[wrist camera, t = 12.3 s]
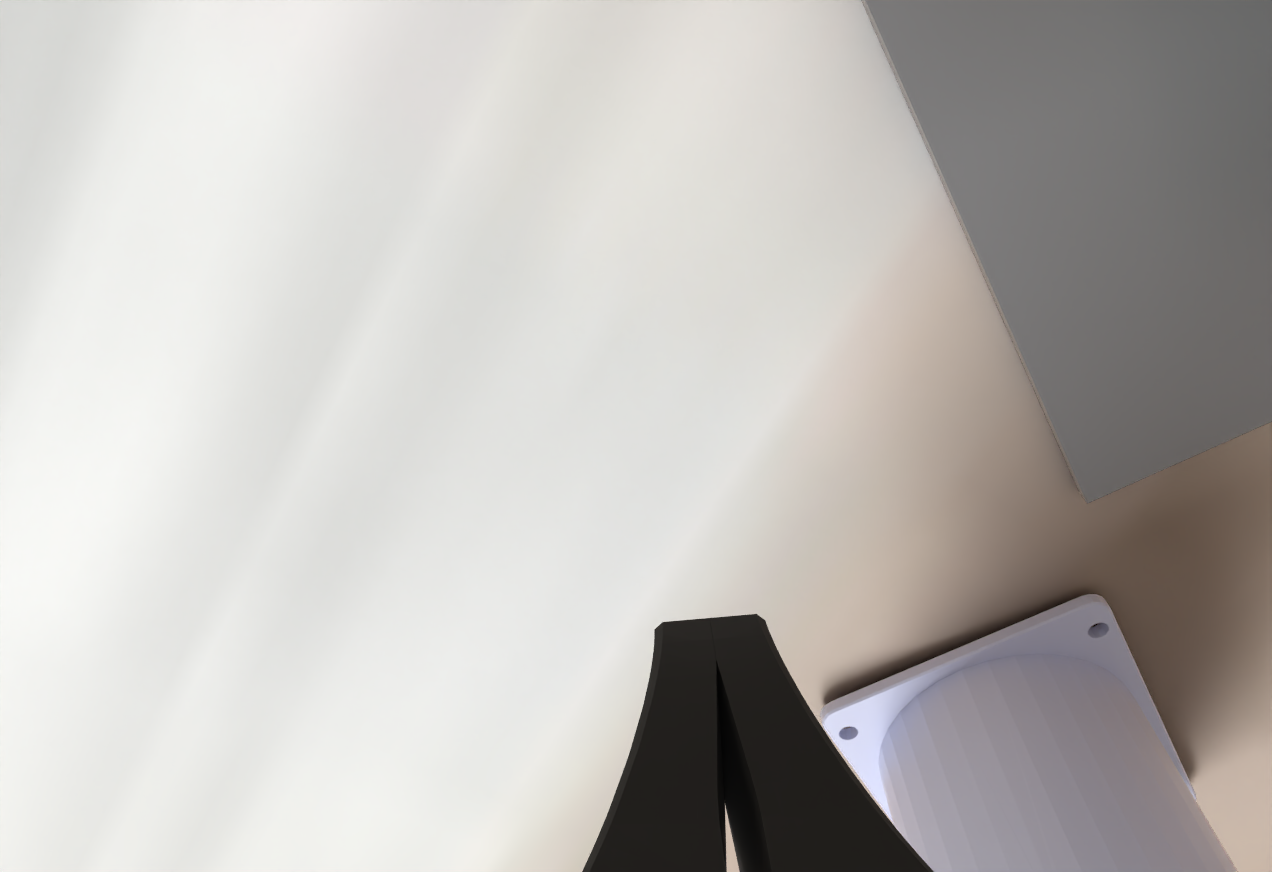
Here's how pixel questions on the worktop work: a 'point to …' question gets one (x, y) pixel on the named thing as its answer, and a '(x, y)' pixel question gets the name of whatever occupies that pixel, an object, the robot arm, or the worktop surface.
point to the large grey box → (1110, 206)
